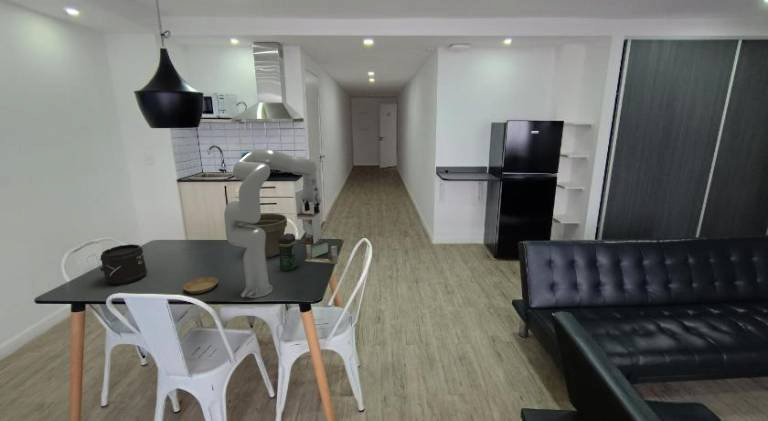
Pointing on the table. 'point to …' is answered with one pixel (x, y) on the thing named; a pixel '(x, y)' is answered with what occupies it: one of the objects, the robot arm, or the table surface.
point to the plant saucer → (200, 285)
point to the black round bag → (123, 264)
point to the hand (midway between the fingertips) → (311, 211)
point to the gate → (319, 250)
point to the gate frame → (331, 259)
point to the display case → (308, 221)
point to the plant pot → (271, 231)
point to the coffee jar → (287, 252)
